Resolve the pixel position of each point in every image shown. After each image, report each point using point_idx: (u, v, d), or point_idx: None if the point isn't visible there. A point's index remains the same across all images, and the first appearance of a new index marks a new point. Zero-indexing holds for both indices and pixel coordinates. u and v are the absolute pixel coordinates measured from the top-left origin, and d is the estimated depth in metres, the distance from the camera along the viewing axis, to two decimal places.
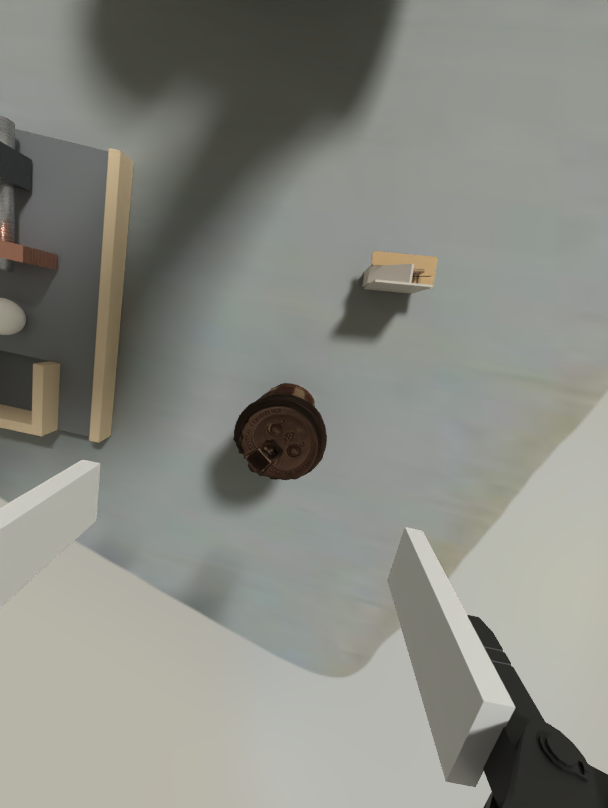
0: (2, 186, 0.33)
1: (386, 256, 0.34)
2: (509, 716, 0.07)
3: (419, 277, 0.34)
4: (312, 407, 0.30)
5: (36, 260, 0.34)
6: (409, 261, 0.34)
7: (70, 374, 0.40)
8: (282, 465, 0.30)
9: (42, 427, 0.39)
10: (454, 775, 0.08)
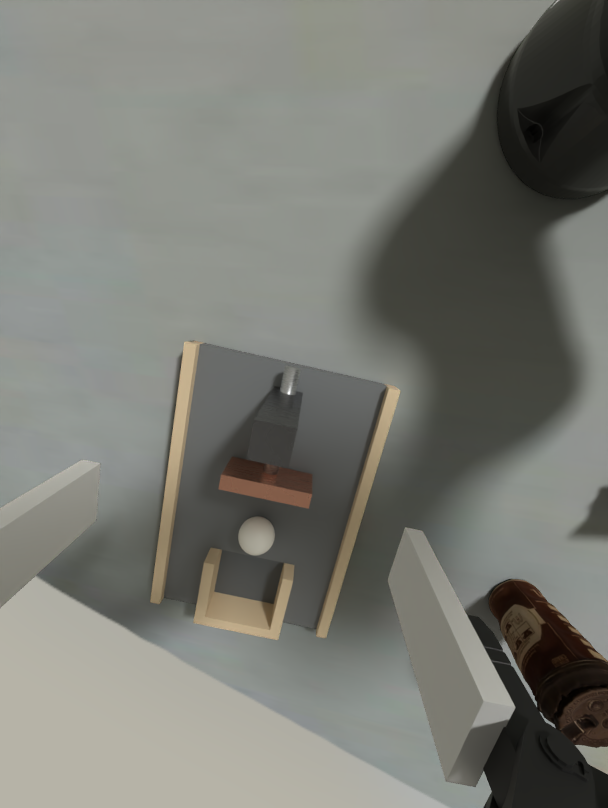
0: None
1: None
2: (509, 716, 0.07)
3: None
4: None
5: None
6: None
7: (302, 574, 0.39)
8: (594, 734, 0.29)
9: (279, 632, 0.39)
10: (454, 775, 0.08)
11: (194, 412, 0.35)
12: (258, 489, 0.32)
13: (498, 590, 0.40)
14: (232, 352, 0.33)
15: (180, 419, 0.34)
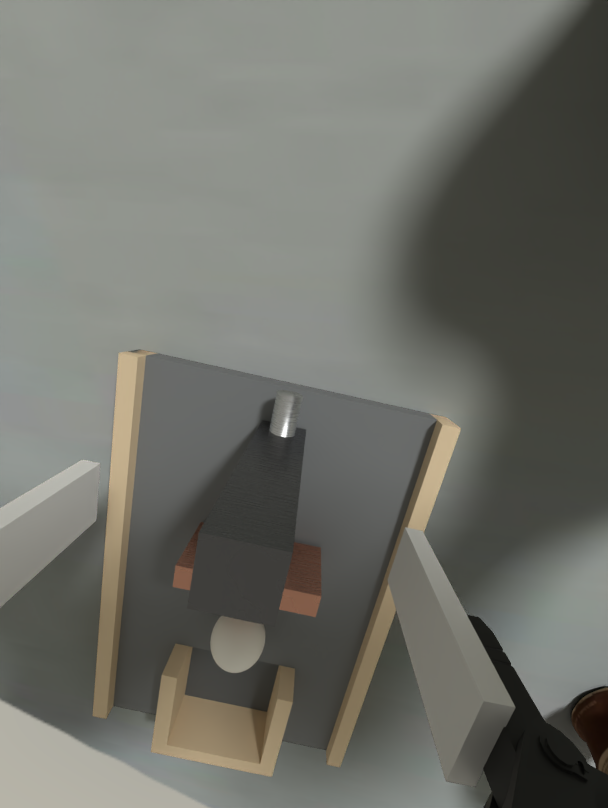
0: None
1: None
2: (509, 716, 0.07)
3: None
4: None
5: None
6: None
7: (307, 681, 0.28)
8: None
9: (274, 766, 0.27)
10: (455, 775, 0.08)
11: (143, 457, 0.23)
12: None
13: (588, 704, 0.28)
14: (196, 368, 0.21)
15: (119, 470, 0.22)
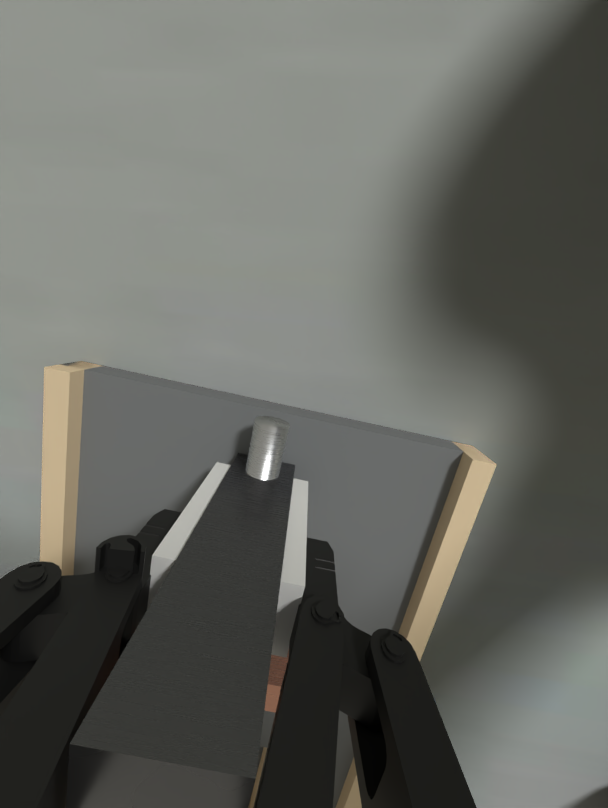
0: None
1: None
2: (302, 594, 0.10)
3: None
4: None
5: None
6: None
7: None
8: None
9: None
10: None
11: (85, 499, 0.18)
12: None
13: None
14: (151, 386, 0.16)
15: (53, 518, 0.17)
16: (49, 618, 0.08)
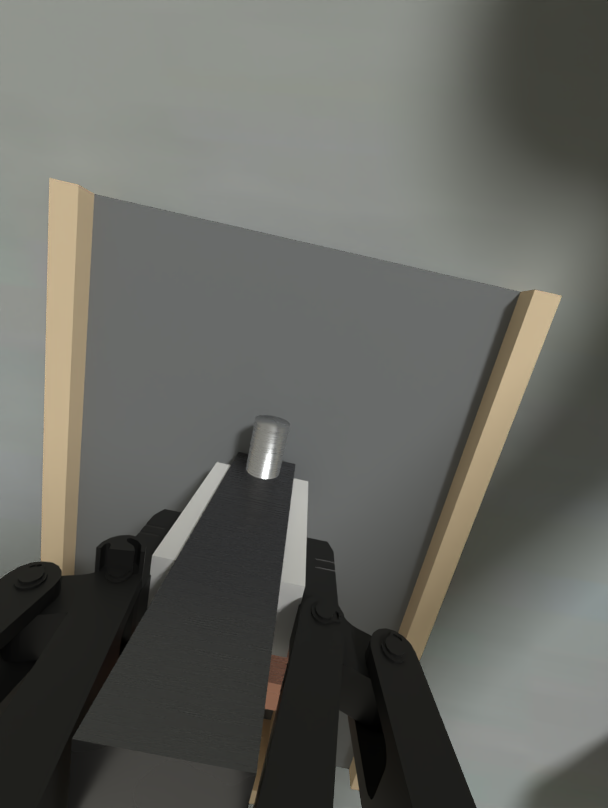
0: None
1: None
2: (302, 594, 0.10)
3: None
4: None
5: None
6: None
7: None
8: None
9: None
10: None
11: (95, 358, 0.16)
12: None
13: None
14: (169, 213, 0.15)
15: (58, 370, 0.15)
16: (49, 618, 0.08)
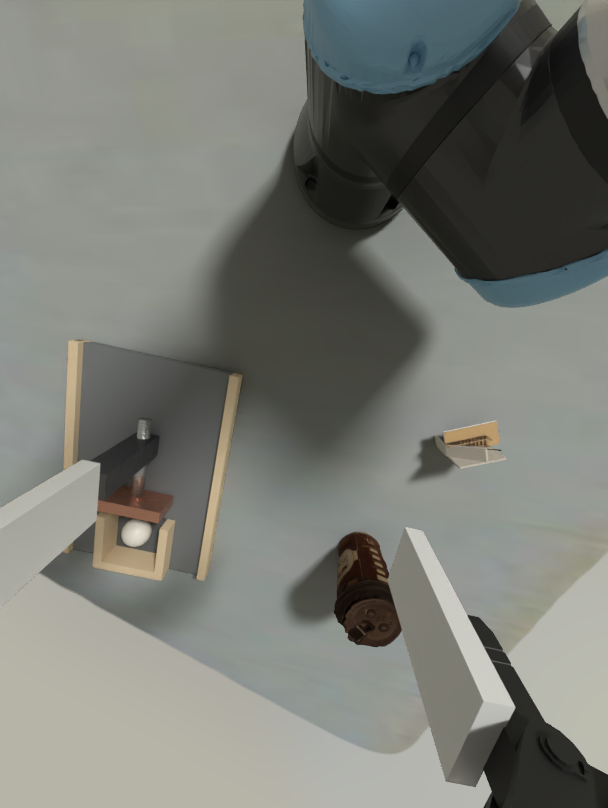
0: None
1: (455, 432, 0.42)
2: (509, 716, 0.07)
3: (486, 438, 0.42)
4: None
5: (164, 513, 0.45)
6: (474, 430, 0.42)
7: (182, 528, 0.49)
8: (373, 636, 0.39)
9: (162, 574, 0.48)
10: (454, 775, 0.08)
11: (84, 396, 0.44)
12: (120, 509, 0.43)
13: (343, 541, 0.49)
14: (109, 348, 0.43)
15: (71, 401, 0.43)
16: None
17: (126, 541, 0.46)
